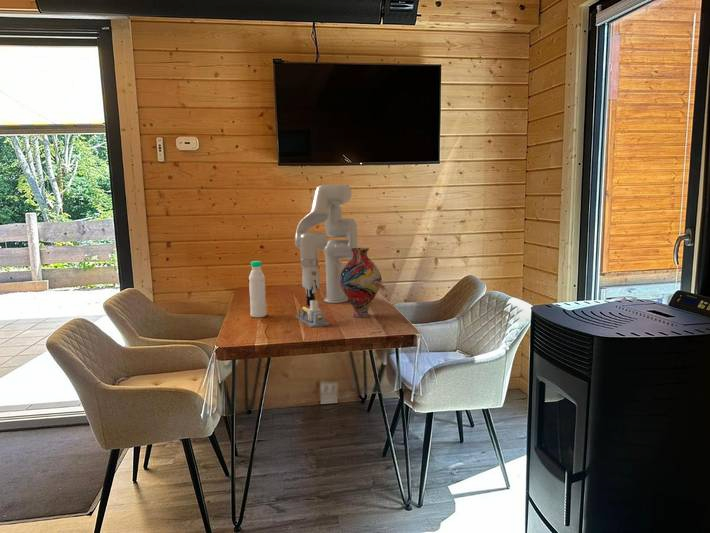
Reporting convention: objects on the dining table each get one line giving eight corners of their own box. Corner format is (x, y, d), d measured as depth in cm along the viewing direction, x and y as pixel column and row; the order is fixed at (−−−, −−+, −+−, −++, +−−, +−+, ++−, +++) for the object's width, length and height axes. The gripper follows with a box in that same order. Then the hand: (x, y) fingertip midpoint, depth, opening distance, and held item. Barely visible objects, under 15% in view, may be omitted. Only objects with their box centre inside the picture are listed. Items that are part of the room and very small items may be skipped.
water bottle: (269, 315, 219) (267, 260, 216) (259, 318, 213) (256, 262, 210) (257, 313, 223) (255, 260, 219) (247, 316, 217) (244, 261, 213)
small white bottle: (307, 319, 204) (307, 300, 203) (317, 317, 206) (317, 299, 205) (310, 321, 201) (310, 302, 200) (321, 319, 203) (320, 301, 202)
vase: (344, 321, 204) (342, 251, 200) (336, 312, 223) (335, 247, 219) (387, 318, 208) (386, 249, 204) (376, 309, 226) (375, 246, 222)
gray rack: (295, 317, 214) (295, 305, 213) (312, 315, 217) (312, 304, 216) (311, 327, 196) (310, 314, 195) (329, 325, 199) (329, 312, 199)
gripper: (324, 264, 199) (325, 307, 201) (311, 260, 212) (313, 301, 214) (307, 265, 196) (308, 309, 198) (295, 261, 209) (297, 303, 211)
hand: (310, 305), depth 206 cm, fingers closed
